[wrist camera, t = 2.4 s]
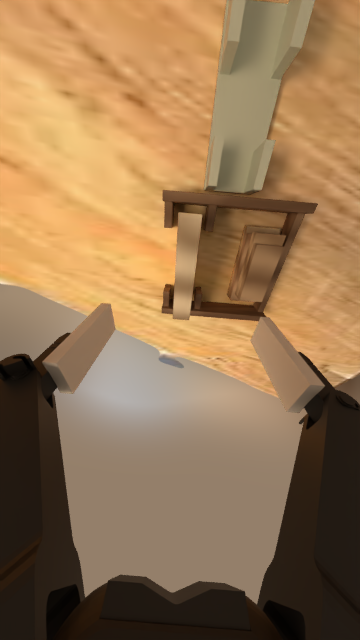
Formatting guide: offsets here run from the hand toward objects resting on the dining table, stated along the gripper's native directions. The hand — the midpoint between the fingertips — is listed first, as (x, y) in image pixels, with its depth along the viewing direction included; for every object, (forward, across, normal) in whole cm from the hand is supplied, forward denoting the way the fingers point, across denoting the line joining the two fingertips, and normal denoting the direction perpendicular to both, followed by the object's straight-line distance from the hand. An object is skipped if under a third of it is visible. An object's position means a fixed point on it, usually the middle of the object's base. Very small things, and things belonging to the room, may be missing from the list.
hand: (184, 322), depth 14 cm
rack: (+23, +7, 0) cm, 24 cm away
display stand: (+23, +6, +20) cm, 31 cm away
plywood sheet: (+23, 0, 0) cm, 23 cm away
